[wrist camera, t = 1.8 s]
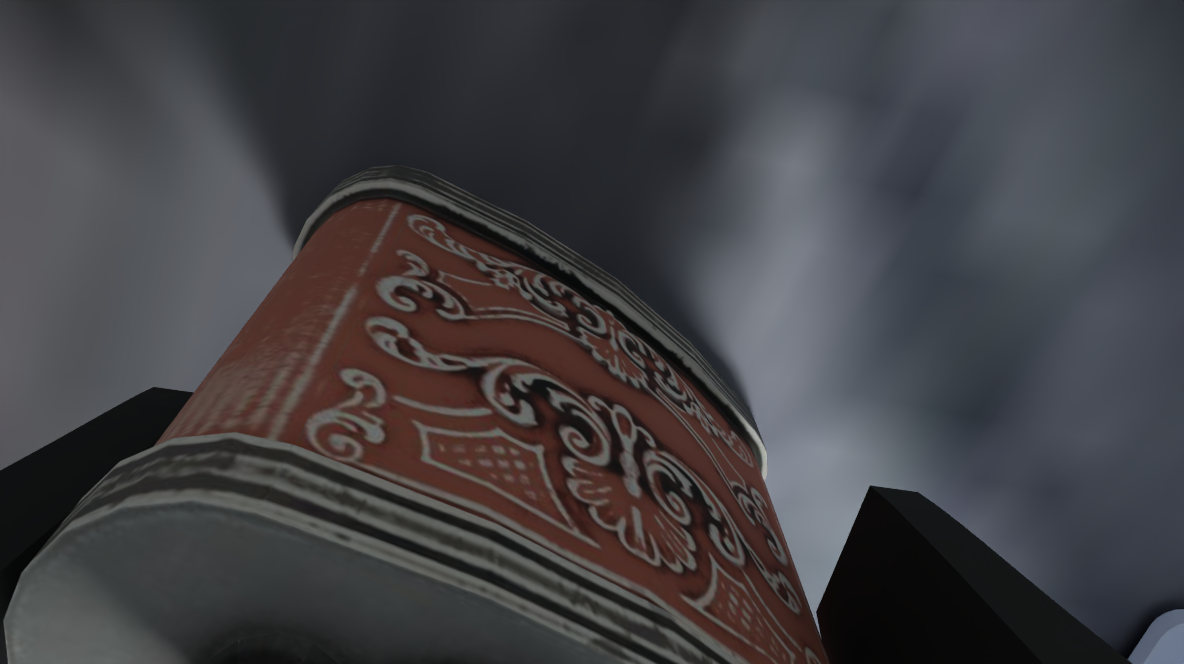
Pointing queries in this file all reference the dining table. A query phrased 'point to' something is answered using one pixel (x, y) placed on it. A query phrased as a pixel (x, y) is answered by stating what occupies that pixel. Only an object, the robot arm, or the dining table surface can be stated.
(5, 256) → the dining table surface
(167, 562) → the lighter
